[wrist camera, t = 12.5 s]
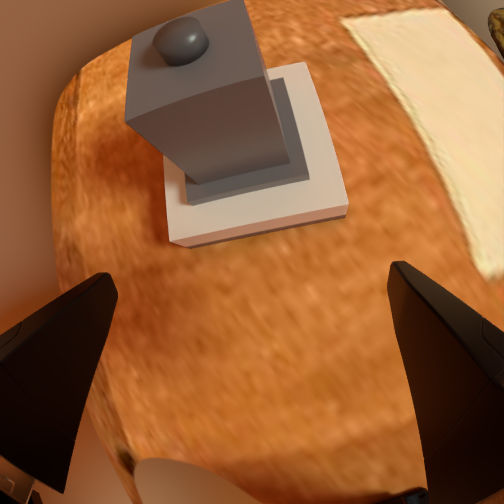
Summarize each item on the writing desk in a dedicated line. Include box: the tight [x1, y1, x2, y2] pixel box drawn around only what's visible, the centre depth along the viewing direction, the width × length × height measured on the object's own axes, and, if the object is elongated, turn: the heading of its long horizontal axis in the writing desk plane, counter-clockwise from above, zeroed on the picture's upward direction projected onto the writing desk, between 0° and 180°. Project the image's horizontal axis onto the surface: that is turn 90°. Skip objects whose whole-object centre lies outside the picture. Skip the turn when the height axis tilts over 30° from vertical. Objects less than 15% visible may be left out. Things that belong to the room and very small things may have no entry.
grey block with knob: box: [125, 0, 310, 206], centre depth 14 cm, size 7×7×11 cm
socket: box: [163, 62, 349, 249], centre depth 18 cm, size 10×10×3 cm
